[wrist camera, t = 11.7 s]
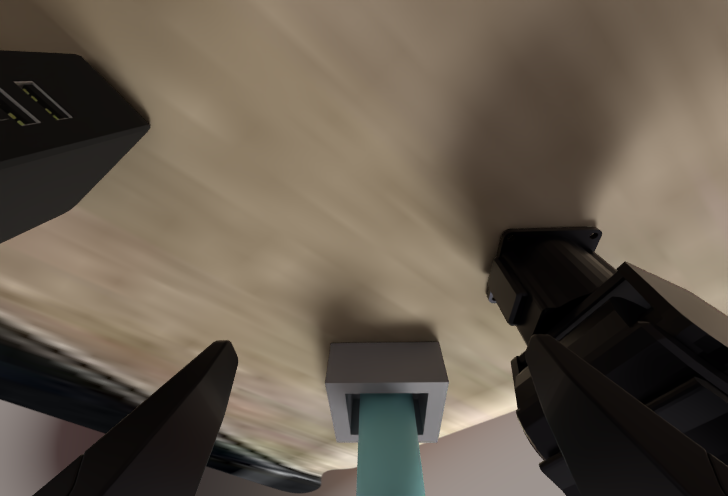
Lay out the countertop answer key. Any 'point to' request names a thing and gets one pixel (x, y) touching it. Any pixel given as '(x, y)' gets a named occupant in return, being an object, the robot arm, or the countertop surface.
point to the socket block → (386, 383)
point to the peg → (388, 446)
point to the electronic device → (56, 135)
